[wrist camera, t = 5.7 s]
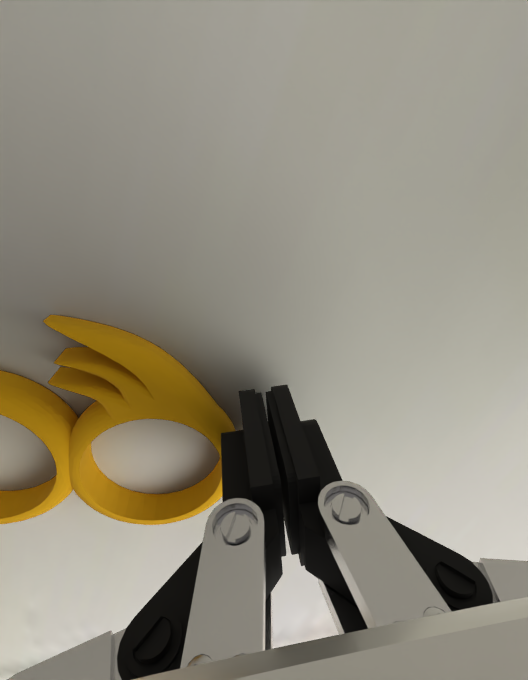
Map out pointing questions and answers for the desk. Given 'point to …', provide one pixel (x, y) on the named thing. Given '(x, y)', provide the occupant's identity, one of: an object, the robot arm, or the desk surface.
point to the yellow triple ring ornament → (109, 423)
